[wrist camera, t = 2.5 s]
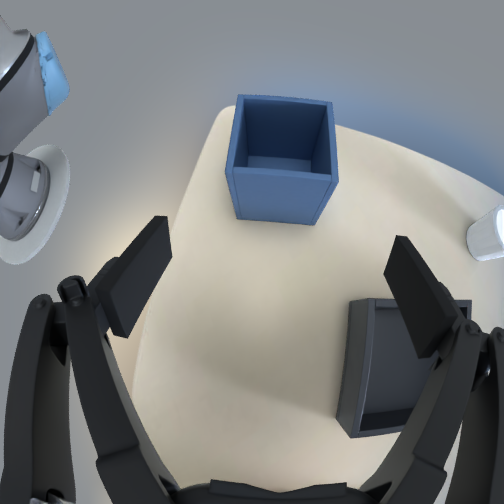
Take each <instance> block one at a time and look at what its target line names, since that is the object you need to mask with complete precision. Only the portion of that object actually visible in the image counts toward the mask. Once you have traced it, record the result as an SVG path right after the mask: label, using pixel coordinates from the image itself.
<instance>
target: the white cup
mask: <svg viewBox="0 0 504 504" xmlns="http://www.w3.org/2000/svg"><path fill="white" fill-rule="evenodd" d="M466 240H467V246H468V248H469V251H470V253H471V254H472V256H473V257H474V258H475V259H477V260H478V261H483V260H488V259H493V258H499V257H504V206H503V205H498V206H497V207H496V208H494V209H493V210H492V211H490V212H489V213H488V214H486V215H485V216H484V217H482V218H481V219H479V220H478V221H477V222H475V223H474V224H472V225H471V226H470V227H469V228H468V230H467V236H466Z"/></svg>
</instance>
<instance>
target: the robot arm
mask: <svg viewBox="0 0 504 504" xmlns="http://www.w3.org/2000/svg"><path fill="white" fill-rule="evenodd" d="M69 90H70V89H69V84H68V81H67V78H66V76H65V74H64V71H63V69H62V66H61V64H60V62H59V60H58V57H57V55H56V53H55V50H54V48H53V46H52V44H51V41H50V39H49V37H48V36H47V33H46V32H41V33H40V34H37V35H36V36H35V37H33V36H32V35H31V33H30V32H29V31H28V30H27V29H22V30H16V31H12V30H11V29H10V28H9V27H8V25H7V24H6V23H5V21H4V20H3V19H2V17H1V16H0V236H2V237H3V238H5V239H7V240H10V241H18V240H20V239H22V238H24V237H25V236H26V235H27V234H28V233H29V232H30V231H31V230H32V228H33V227H34V226H35V224H36V223H37V221H38V219H39V218H40V216H41V214H42V212H43V209H44V207H45V204H46V201H47V198H48V195H49V190H50V182H51V178H50V171H49V169H48V167H47V166H46V165H45V164H44V163H43V162H42V161H40V160H39V159H36V158H33V157H29V156H25V155H20V154H16V153H13V152H12V151H13V150H14V149H15V148H16V147H17V146H18V144H20V142H21V141H22V140H23V139H24V138H25V137H26V136H27V135H28V134H29V133H30V132H31V131H32V130H33V129H34V128H35V127H36V126H37V125H39V124H40V123H41V122H42V121H43V120H44V119H45V118H46V117H47V116H50V115H51V113H52V111H53V110H54V109H56V107H58V106H59V105H60V104H61V103H62V102H63V101H64V100H65V99H66V98H67V97H68V94H69ZM171 259H172V251H171V243H170V235H169V227H168V218H167V216H154V218H153V219H152V220H151V221H150V222H149V223H148V224H147V225H146V227H145V228H144V229H143V230H142V231H141V232H140V233H139V235H138V236H137V237H136V238H135V239H134V240H133V241H132V243H131V244H130V245H129V246H128V247H127V248H126V250H125V251H124V252H123V253H122V254H121V256H120V257H114V258H112V259H111V260H109V261H108V262H106V264H105V265H104V266H103V267H102V269H101V270H100V271H99V272H98V273H97V275H96V276H95V277H94V278H93V279H92V281H91V282H90V283H89V284H88V286H86V284H85V281H84V279H83V277H81V276H76V275H74V276H70V277H68V278H65V279H64V280H63V281H61V282H60V284H59V285H58V287H57V291H58V293H59V296H60V298H61V300H62V302H55V303H53V301H52V298H51V297H50V295H47V294H41V295H38V296H37V297H35V298H34V299H33V300H32V301H31V302H30V304H29V307H28V310H27V313H26V316H25V319H24V322H23V326H22V329H21V333H20V336H19V340H18V344H17V348H16V352H15V357H14V362H13V366H12V371H11V377H10V383H9V389H8V397H7V404H6V414H5V429H4V469H3V473H2V478H1V483H0V504H75V503H76V493H75V492H76V491H75V480H74V473H73V465H72V456H71V445H70V430H69V377H70V361H71V362H72V367H73V371H74V377H75V381H76V386H77V390H78V394H79V398H80V402H81V405H82V409H83V412H84V416H85V419H86V422H87V425H88V429H89V432H90V434H91V437H92V440H93V443H94V446H95V448H96V451H97V454H98V459H97V460H96V467H97V470H98V473H99V475H100V478H101V480H102V482H103V484H104V486H105V489H106V491H107V493H108V495H109V497H110V499H111V501H112V503H113V504H433V503H434V501H435V500H436V498H437V496H438V494H439V492H440V490H441V489H442V487H443V485H444V483H445V480H446V478H447V472H446V471H445V470H444V465H445V463H446V460H447V458H448V456H449V454H450V451H451V449H452V447H453V444H454V442H455V439H456V436H457V434H458V431H459V428H460V425H461V423H462V429H461V436H460V442H459V448H458V453H457V458H456V463H455V468H454V472H453V476H452V480H451V484H450V487H449V491H448V494H447V498H446V501H445V504H504V329H502V328H500V327H495V328H494V329H493V330H492V332H491V333H490V334H487V333H483V332H482V331H481V329H480V327H479V326H478V324H477V323H475V322H474V321H472V320H470V319H465V317H464V315H463V314H462V312H461V310H460V308H459V307H458V305H457V303H456V302H455V300H454V298H453V297H452V296H451V294H450V292H449V290H448V289H447V288H446V287H445V286H444V285H443V284H442V283H441V282H438V281H437V279H436V277H435V276H434V274H433V273H432V271H431V270H430V268H429V267H428V265H427V264H426V262H425V261H424V260H423V258H422V257H421V255H420V254H419V252H418V251H417V250H416V248H415V247H414V246H413V244H412V243H411V241H410V240H409V239H408V237H406V236H398V235H396V237H395V241H394V244H393V247H392V250H391V253H390V256H389V259H388V262H387V265H386V268H385V271H384V276H385V278H386V281H387V283H388V285H389V287H390V289H391V292H392V294H393V296H394V298H395V301H396V303H397V305H398V308H399V310H400V312H401V315H402V317H403V320H404V322H405V325H406V327H407V330H408V332H409V335H410V338H411V340H412V343H413V346H414V348H415V351H416V354H417V357H418V359H422V358H431V356H432V355H433V354H434V352H435V351H436V349H437V351H438V353H439V356H438V357H437V359H436V360H435V361H434V362H433V364H432V365H431V366H430V368H429V369H428V370H429V371H430V370H431V368H432V370H431V373H430V375H429V377H428V380H427V382H426V384H425V386H424V389H423V391H422V393H421V395H420V397H419V399H418V401H417V404H416V406H415V408H414V409H413V411H412V413H411V415H410V417H409V419H408V421H407V423H406V425H405V426H404V428H403V430H402V432H401V433H400V435H399V437H398V439H397V440H396V442H395V443H394V445H393V447H392V448H391V450H390V451H389V453H388V455H387V456H386V458H385V459H384V461H383V462H382V464H381V465H380V467H379V468H378V469H377V471H376V472H375V473H374V474H373V475H372V476H371V477H370V478H369V479H368V480H367V481H366V482H365V483H364V484H363V485H362V486H361V487H360V488H359V489H358V490H357V489H354V488H350V487H347V482H344V483H335V484H322V485H313V486H309V487H305V488H301V489H297V490H293V491H288V492H284V493H277V492H273V491H269V490H265V489H262V488H258V487H255V486H251V485H248V484H245V483H235V482H227V481H220V480H213V479H211V481H210V483H203V484H197V485H193V486H189V487H186V488H184V489H181V488H180V487H179V485H178V484H177V482H176V481H175V479H174V478H173V476H172V475H171V473H170V472H169V471H168V469H167V468H166V467H165V465H164V464H163V462H162V461H161V459H160V457H159V455H158V454H157V452H156V450H155V448H154V446H153V444H152V442H151V441H150V439H149V437H148V435H147V433H146V431H145V429H144V427H143V425H142V423H141V420H140V418H139V416H138V414H137V412H136V410H135V407H134V405H133V403H132V400H131V398H130V396H129V393H128V391H127V388H126V386H125V383H124V381H123V378H122V376H121V373H120V370H119V368H118V365H117V362H116V359H115V356H114V353H113V350H112V347H111V344H110V341H109V338H108V336H107V333H106V332H107V331H108V329H109V327H110V328H111V330H112V333H113V335H115V336H119V337H123V338H128V337H129V335H130V333H131V331H132V329H133V327H134V325H135V323H136V322H137V319H138V318H139V316H140V314H141V312H142V310H143V308H144V306H145V305H146V303H147V301H148V299H149V297H150V295H151V294H152V292H153V290H154V288H155V286H156V285H157V283H158V281H159V279H160V278H161V276H162V274H163V272H164V271H165V269H166V267H167V265H168V264H169V262H170V260H171ZM489 370H490V373H489V375H488V371H489ZM462 420H463V421H462Z"/></svg>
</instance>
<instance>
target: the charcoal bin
mask: <svg viewBox="0 0 504 504" xmlns="http://www.w3.org/2000/svg"><path fill="white" fill-rule="evenodd" d="M455 302H456V303H457V305H458V307H459V308H460V310H461V312H462V314H463V315H464V317H465V319H470V320H471V311H472V300H455ZM438 356H439V353H438V351H437V349H436V351H435V352H434V354H433V355H432V356H431V358H422V359H418V357H417V354H416V351H415V348H414V346H413V343H412V340H411V338H410V335H409V332H408V330H407V327H406V325H405V322H404V320H403V317H402V315H401V312H400V310H399V308H398V305H397V303H396V301H395V299H375V298H367V299H361V300H356V301H350V303H349V319H348V331H347V343H346V352H345V361H344V370H343V378H342V385H341V392H340V398H339V404H338V410H337V416H336V420H337V421H338V422H339V424H340V425H341V427H342V428H343V429H344V431H345V432H346V433H347V435H348V436H349V437H350V438H357V437H358V438H361V437H369V436H377V435H384V434H390V433H396V432H401V431H402V430H403V428H404V426H405V425H406V423H407V421H408V419H409V417H410V415H411V413H412V411H413V409H414V408H415V406H416V404H417V401H418V399H419V397H420V395H421V393H422V391H423V389H424V386H425V384H426V382H427V380H428V377H429V375H430V373H431V370H432V368H431V370H430V371H429V370H428V369H429V368H430V366H431V365H432V364H433V362H434V361H435V360H436V359H437V357H438Z"/></svg>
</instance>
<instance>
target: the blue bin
mask: <svg viewBox="0 0 504 504" xmlns="http://www.w3.org/2000/svg"><path fill="white" fill-rule="evenodd" d="M225 175H226V178H227V182H228V186H229V190H230V194H231V198H232V202H233V206H234V210H235V213H236V217H237V219H243V220H256V221H270V222H282V223H294V224H305V225H315V223H316V222H317V220H318V218H319V216H320V215H321V213H322V211H323V209H324V208H325V206H326V204H327V202H328V200H329V199H330V197H331V195H332V193H333V191H334V190H335V188H336V186H337V184H338V182H339V177H338V160H337V146H336V134H335V123H334V114H333V106H332V102H326V101H319V100H311V99H302V98H292V97H281V96H266V95H238V98H237V103H236V108H235V114H234V120H233V126H232V131H231V137H230V143H229V149H228V156H227V162H226V168H225Z"/></svg>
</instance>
